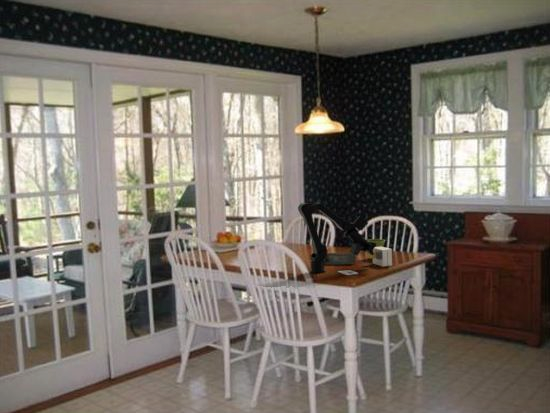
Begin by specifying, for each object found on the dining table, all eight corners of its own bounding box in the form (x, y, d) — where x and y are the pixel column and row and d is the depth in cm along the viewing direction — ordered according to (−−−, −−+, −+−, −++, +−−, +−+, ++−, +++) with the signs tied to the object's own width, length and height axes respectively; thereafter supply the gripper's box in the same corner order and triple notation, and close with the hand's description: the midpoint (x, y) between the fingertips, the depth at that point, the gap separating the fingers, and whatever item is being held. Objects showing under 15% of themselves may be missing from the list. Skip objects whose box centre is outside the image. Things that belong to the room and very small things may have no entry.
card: (346, 275, 303) (346, 273, 303) (338, 271, 312) (337, 270, 312) (358, 273, 306) (358, 272, 306) (349, 270, 315) (349, 269, 315)
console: (383, 266, 323) (382, 250, 322) (372, 263, 333) (372, 247, 333) (392, 265, 325) (391, 249, 325) (381, 262, 336) (381, 246, 335)
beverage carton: (323, 262, 344) (323, 251, 343) (355, 262, 341) (355, 251, 340) (322, 264, 336) (322, 253, 335) (355, 264, 333) (355, 253, 332)
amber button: (370, 258, 327) (370, 251, 327) (367, 257, 331) (367, 250, 330) (377, 257, 329) (377, 250, 329) (374, 256, 332) (373, 250, 332)
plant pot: (385, 260, 343) (385, 241, 342) (365, 260, 345) (365, 241, 344) (385, 256, 354) (385, 238, 353) (366, 256, 357) (366, 238, 356)
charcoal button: (379, 259, 323) (379, 252, 323) (376, 258, 326) (376, 251, 326) (386, 258, 325) (386, 251, 325) (382, 257, 328) (382, 251, 328)
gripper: (339, 245, 325) (356, 262, 330) (355, 250, 308) (373, 268, 313) (350, 231, 328) (367, 248, 333) (367, 234, 310) (385, 252, 315)
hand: (372, 254), depth 323 cm, fingers closed
